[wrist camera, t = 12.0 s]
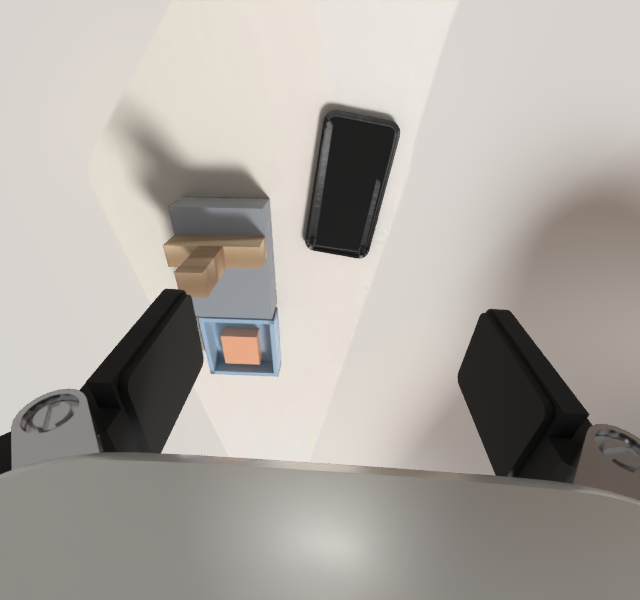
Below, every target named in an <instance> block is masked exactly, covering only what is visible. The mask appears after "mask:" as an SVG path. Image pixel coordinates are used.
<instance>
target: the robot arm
mask: <svg viewBox="0 0 640 600" xmlns="http://www.w3.org/2000/svg"><path fill="white" fill-rule="evenodd" d="M202 365H203V352H202V347H201V342H200V337H199V332H198V327H197V321H196V316H195V311H194V306H193V301H192V297H191V295H187V294H186V292H185V291H184V290H178V289H164V290H163V291H162V292H161V294H160V295H159V296H158V297H157V298H156V300H155V301H154V302H153V303H152V304H151V305H150V307H149V308H148V309H147V310H146V311H145V313H144V314H143V315H142V316H141V317H140V319H139V320H138V321H137V322H136V324H134V326H133V327H132V328H131V329H130V330H129V332H128V333H127V334H126V335H125V336H124V337H123V339H122V340H121V341H120V342H119V343H118V345H117V346H116V347H115V348H114V349H113V351H112V352H111V353H110V354H109V355H108V356H107V358H106V359H105V360H104V361H103V362H102V364H101V365H100V366H99V367H98V368H97V369H96V371H95V372H94V373H93V374H92V376H91V377H90V378H89V379H88V380H87V381H86V383H85V384H84V386H83V387H82V388H81V389H80V390H75V389H62V390H57V391H53V392H49V393H47V394H45V395H42V396H40V397H38V398H36V399H35V400H33V401H32V402H30V403H29V404H27V405H26V406H25V407H24V408H23V409H22V410H20V411H19V412H18V414H17V415H16V417H15V418H14V420H13V423H12V427H11V432H9V433H6V434H5V435H2V436H0V600H640V439H639V438H638V437H636V436H635V435H633V434H631V433H630V432H628V431H626V430H623V429H621V428H619V427H616V426H612V425H608V424H595V425H592V424H591V423H590V422H589V420H588V419H587V417H588V416H589V414H588V412H587V411H586V409H585V408H584V407H583V406H582V404H581V403H580V402H579V401H578V399H577V398H576V397H575V395H574V394H573V392H572V391H571V390H570V389H569V387H568V386H567V385H566V383H565V382H564V381H563V379H562V378H561V377H560V375H559V374H558V373H557V372H556V370H555V369H554V368H553V366H552V365H551V364H550V362H549V361H548V360H547V358H546V357H545V356H544V355H543V353H542V352H541V351H540V349H539V348H538V347H537V346H536V344H535V343H534V341H533V340H532V339H531V338H530V336H529V335H528V334H527V332H526V331H525V330H524V328H523V327H522V326H521V325H520V323H519V322H518V321H517V319H516V318H515V317H514V315H513V314H512V313H511V312H510V311H509V310H497V309H489V310H487V312H486V313H482V314H481V315H480V317H479V320H478V322H477V325H476V328H475V331H474V333H473V336H472V338H471V341H470V344H469V346H468V349H467V351H466V354H465V357H464V359H463V362H462V365H461V367H460V370H459V373H458V383H459V386H460V389H461V391H462V393H463V396H464V398H465V401H466V403H467V406H468V408H469V411H470V413H471V415H472V418H473V420H474V423H475V425H476V428H477V430H478V433H479V435H480V438H481V440H482V443H483V445H484V448H485V450H486V453H487V455H488V458H489V460H490V462H491V465H492V467H493V470H494V472H495V475H496V476H493V475H481V474H467V473H453V472H439V471H425V470H412V469H398V468H383V467H369V466H355V465H339V464H325V463H310V462H295V461H280V460H264V459H248V458H232V457H215V456H199V455H179V454H161V452H162V450H163V447H164V445H165V443H166V441H167V439H168V437H169V435H170V433H171V431H172V429H173V426H174V424H175V422H176V420H177V418H178V416H179V414H180V412H181V410H182V407H183V405H184V404H185V401H186V399H187V397H188V395H189V393H190V391H191V389H192V387H193V385H194V383H195V381H196V378H197V376H198V374H199V372H200V370H201V368H202Z"/></svg>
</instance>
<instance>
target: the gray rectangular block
mask: <svg viewBox="0 0 640 600" xmlns="http://www.w3.org/2000/svg"><path fill="white" fill-rule="evenodd" d="M169 211H170V215H171V220H172V224H173V228H174V233H175V235H213V236H265V241H266V252H267V258H266V260H265V262H264V264H263V267H262V268H226V270H225V271H224V273H223V275H222V276H221V278H220V279H219V281H218V282H217V284H216V285H215V287H214V289H213V290H212V292H211V293H210V295H209V296H208V298H198V297H192V301H193V306H194V311H195V316H201V317H230V318H260V319H272V317H273V314H274V310H275V307H276V303H277V296H276V282H275V268H274V254H273V240H272V226H271V212H270V199H267V198H218V197H182V198H181V199H179V200H178V201H176V202H175V203H173V204H172V205H170V206H169Z"/></svg>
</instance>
